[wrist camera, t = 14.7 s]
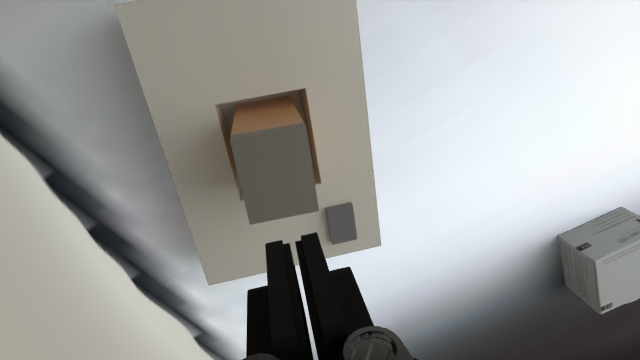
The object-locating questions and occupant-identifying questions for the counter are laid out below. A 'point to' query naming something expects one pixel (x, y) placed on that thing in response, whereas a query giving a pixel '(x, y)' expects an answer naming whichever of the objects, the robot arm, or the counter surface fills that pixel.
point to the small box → (603, 260)
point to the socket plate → (251, 85)
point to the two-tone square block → (273, 160)
